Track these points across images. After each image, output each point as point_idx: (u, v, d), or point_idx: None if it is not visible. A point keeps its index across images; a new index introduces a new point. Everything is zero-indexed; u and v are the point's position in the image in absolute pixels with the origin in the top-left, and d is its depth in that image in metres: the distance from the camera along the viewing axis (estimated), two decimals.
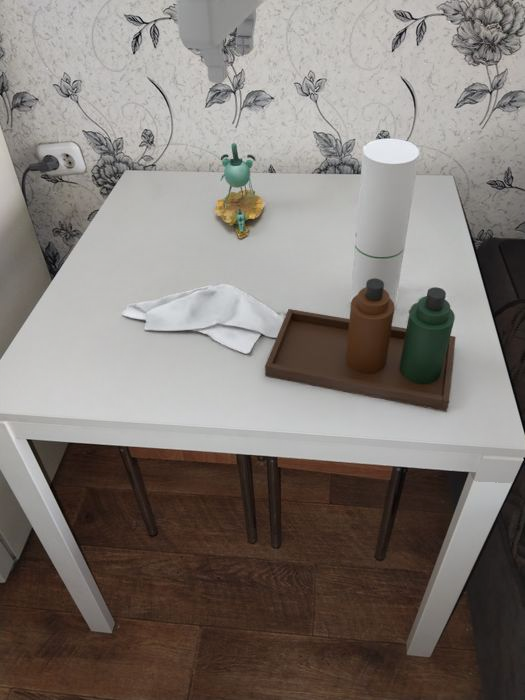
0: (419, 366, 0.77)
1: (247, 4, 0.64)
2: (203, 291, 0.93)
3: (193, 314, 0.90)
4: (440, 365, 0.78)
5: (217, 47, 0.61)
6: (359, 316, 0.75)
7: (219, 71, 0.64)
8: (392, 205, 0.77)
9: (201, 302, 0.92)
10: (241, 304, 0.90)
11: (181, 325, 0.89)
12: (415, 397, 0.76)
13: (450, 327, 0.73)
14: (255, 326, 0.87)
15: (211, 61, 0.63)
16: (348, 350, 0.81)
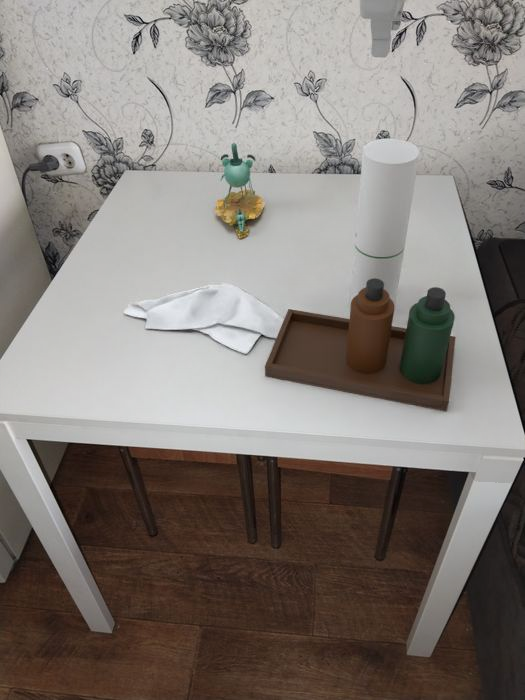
0: (419, 366, 0.77)
1: None
2: (204, 290, 0.93)
3: (194, 313, 0.90)
4: (440, 365, 0.78)
5: None
6: (359, 316, 0.75)
7: (384, 45, 0.62)
8: (392, 205, 0.77)
9: (202, 301, 0.92)
10: (242, 304, 0.90)
11: (181, 324, 0.89)
12: (415, 397, 0.76)
13: (450, 327, 0.73)
14: (255, 326, 0.87)
15: (379, 34, 0.61)
16: (348, 350, 0.81)
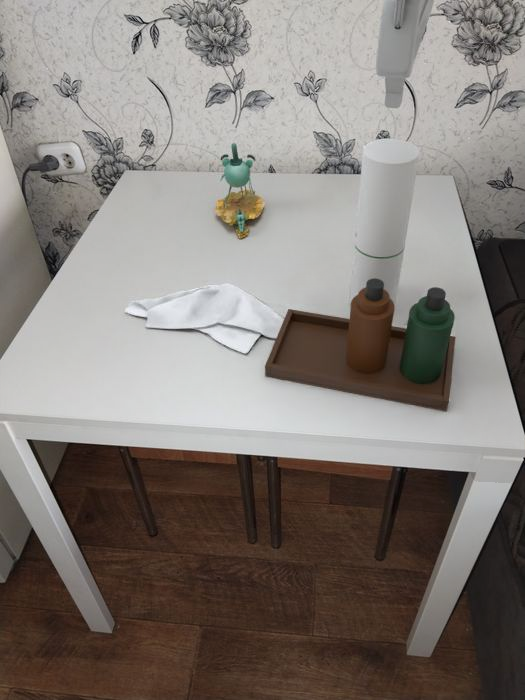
0: (419, 366, 0.77)
1: (422, 31, 0.66)
2: (205, 290, 0.93)
3: (194, 313, 0.90)
4: (440, 365, 0.78)
5: None
6: (359, 316, 0.75)
7: (397, 97, 0.66)
8: (392, 205, 0.77)
9: (203, 301, 0.92)
10: (242, 304, 0.90)
11: (182, 323, 0.89)
12: (415, 397, 0.76)
13: (450, 327, 0.73)
14: (255, 326, 0.87)
15: (392, 88, 0.65)
16: (348, 350, 0.81)
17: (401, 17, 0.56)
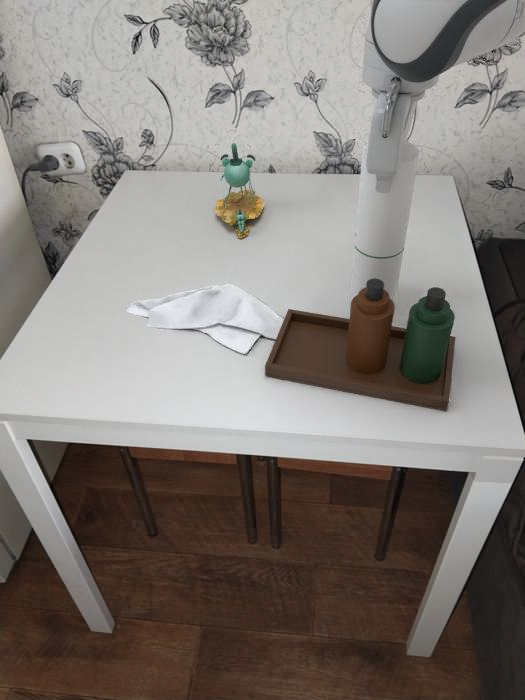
0: (419, 366, 0.77)
1: (409, 126, 0.74)
2: (207, 291, 0.93)
3: (195, 313, 0.91)
4: (440, 365, 0.78)
5: None
6: (359, 316, 0.75)
7: (387, 184, 0.74)
8: (392, 205, 0.77)
9: (204, 301, 0.93)
10: (243, 304, 0.90)
11: (182, 323, 0.90)
12: (415, 397, 0.76)
13: (450, 327, 0.73)
14: (255, 327, 0.87)
15: (382, 177, 0.73)
16: (348, 350, 0.81)
17: (388, 129, 0.64)
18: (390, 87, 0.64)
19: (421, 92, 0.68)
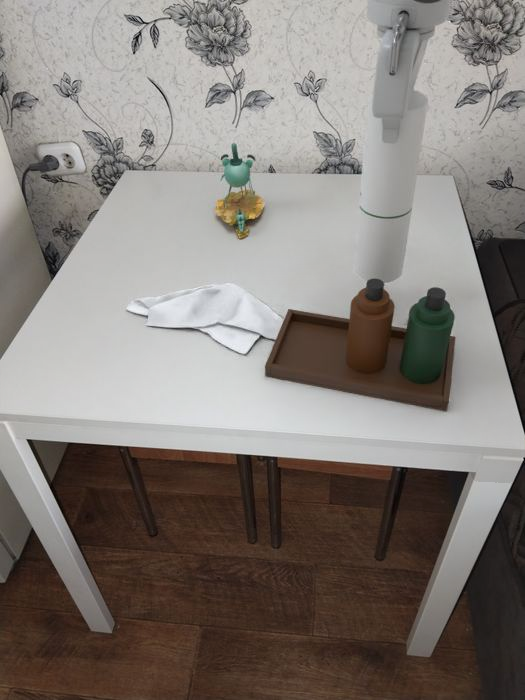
0: (419, 366, 0.77)
1: (417, 72, 0.69)
2: (207, 289, 0.93)
3: (195, 312, 0.90)
4: (440, 365, 0.78)
5: None
6: (359, 316, 0.75)
7: (394, 133, 0.69)
8: (399, 158, 0.72)
9: (204, 300, 0.92)
10: (243, 304, 0.90)
11: (182, 322, 0.89)
12: (415, 397, 0.76)
13: (450, 327, 0.73)
14: (255, 327, 0.87)
15: (389, 125, 0.68)
16: (348, 350, 0.81)
17: (395, 65, 0.59)
18: (397, 20, 0.59)
19: (430, 30, 0.64)
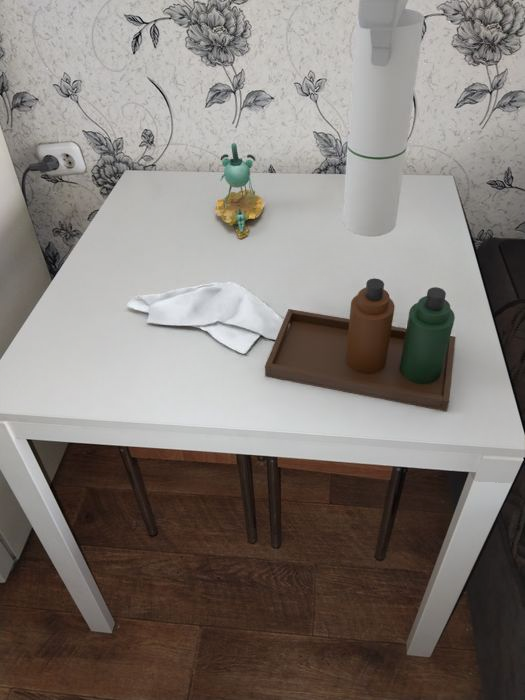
0: (419, 366, 0.77)
1: None
2: (208, 288, 0.93)
3: (195, 310, 0.90)
4: (440, 365, 0.78)
5: None
6: (359, 316, 0.75)
7: (384, 53, 0.60)
8: (391, 86, 0.64)
9: (205, 299, 0.92)
10: (243, 303, 0.90)
11: (182, 320, 0.89)
12: (415, 397, 0.76)
13: (450, 327, 0.73)
14: (255, 327, 0.87)
15: (379, 42, 0.59)
16: (348, 350, 0.81)
17: None
18: None
19: None
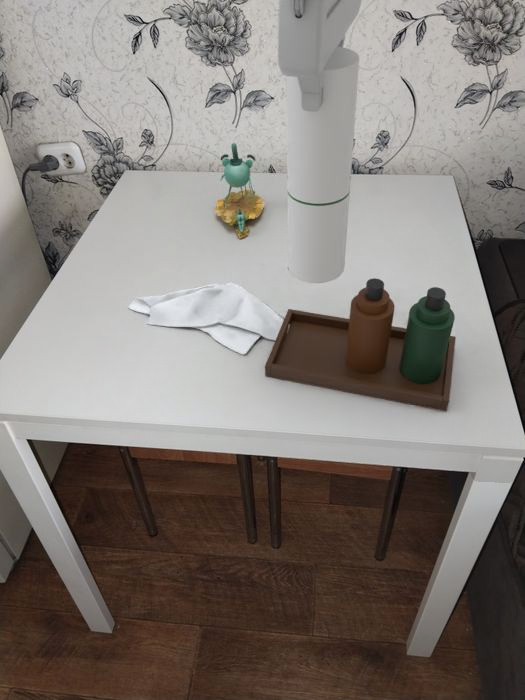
0: (419, 366, 0.77)
1: (345, 23, 0.56)
2: (209, 289, 0.93)
3: (196, 311, 0.91)
4: (440, 365, 0.78)
5: None
6: (359, 316, 0.75)
7: (315, 98, 0.56)
8: (326, 131, 0.59)
9: (205, 300, 0.92)
10: (244, 304, 0.90)
11: (183, 322, 0.90)
12: (415, 397, 0.76)
13: (450, 327, 0.73)
14: (255, 327, 0.87)
15: (307, 87, 0.55)
16: (348, 350, 0.81)
17: (300, 3, 0.46)
18: None
19: None
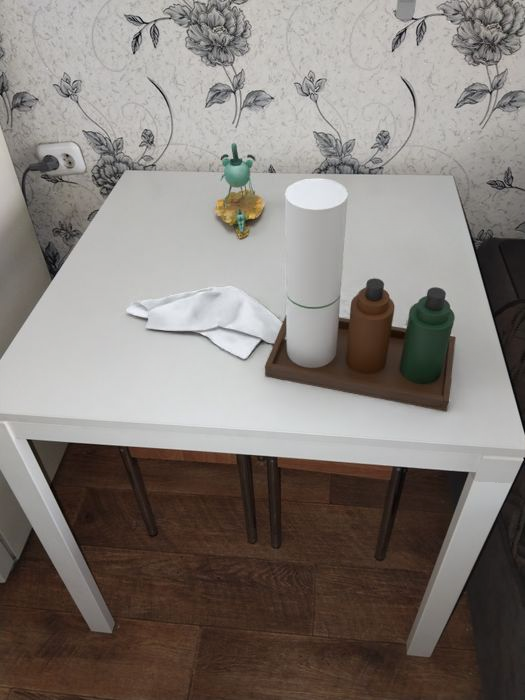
0: (419, 366, 0.77)
1: None
2: (207, 292, 0.92)
3: (195, 315, 0.90)
4: (440, 365, 0.78)
5: None
6: (359, 316, 0.75)
7: (410, 6, 0.61)
8: (320, 253, 0.69)
9: (204, 303, 0.91)
10: (244, 308, 0.89)
11: (182, 326, 0.89)
12: (415, 397, 0.76)
13: (450, 327, 0.73)
14: (255, 331, 0.87)
15: None
16: (348, 350, 0.81)
17: None
18: None
19: None
